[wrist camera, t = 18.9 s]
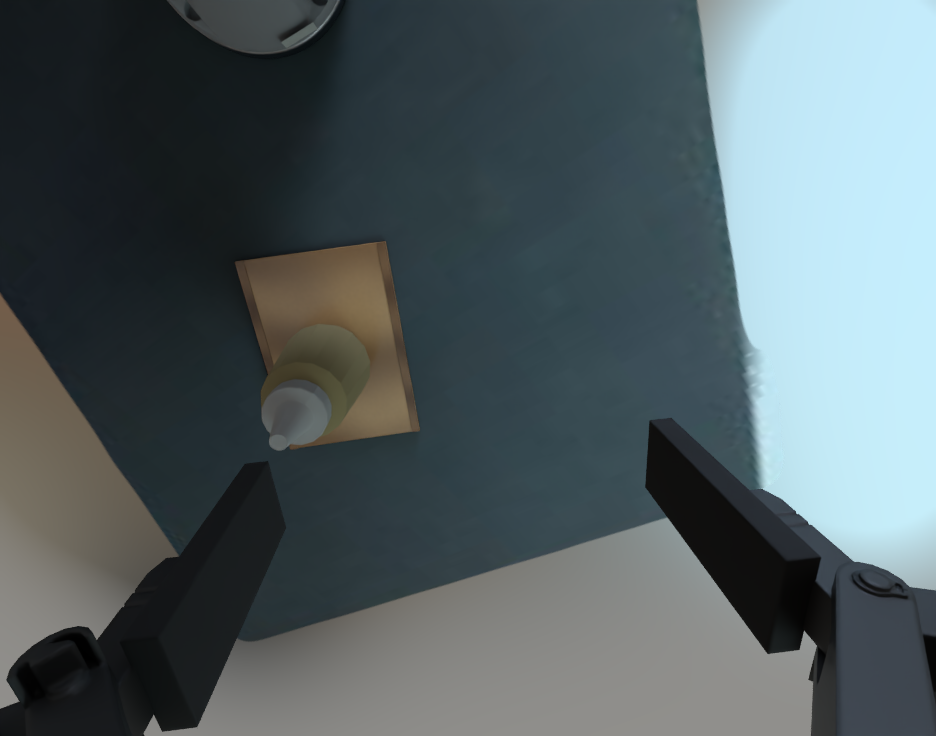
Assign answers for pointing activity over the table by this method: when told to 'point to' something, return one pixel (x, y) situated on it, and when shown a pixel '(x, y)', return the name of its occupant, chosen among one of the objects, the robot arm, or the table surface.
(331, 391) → the squeeze bottle
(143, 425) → the table surface
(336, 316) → the brown flat rectangular board
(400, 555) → the table surface
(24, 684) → the robot arm
